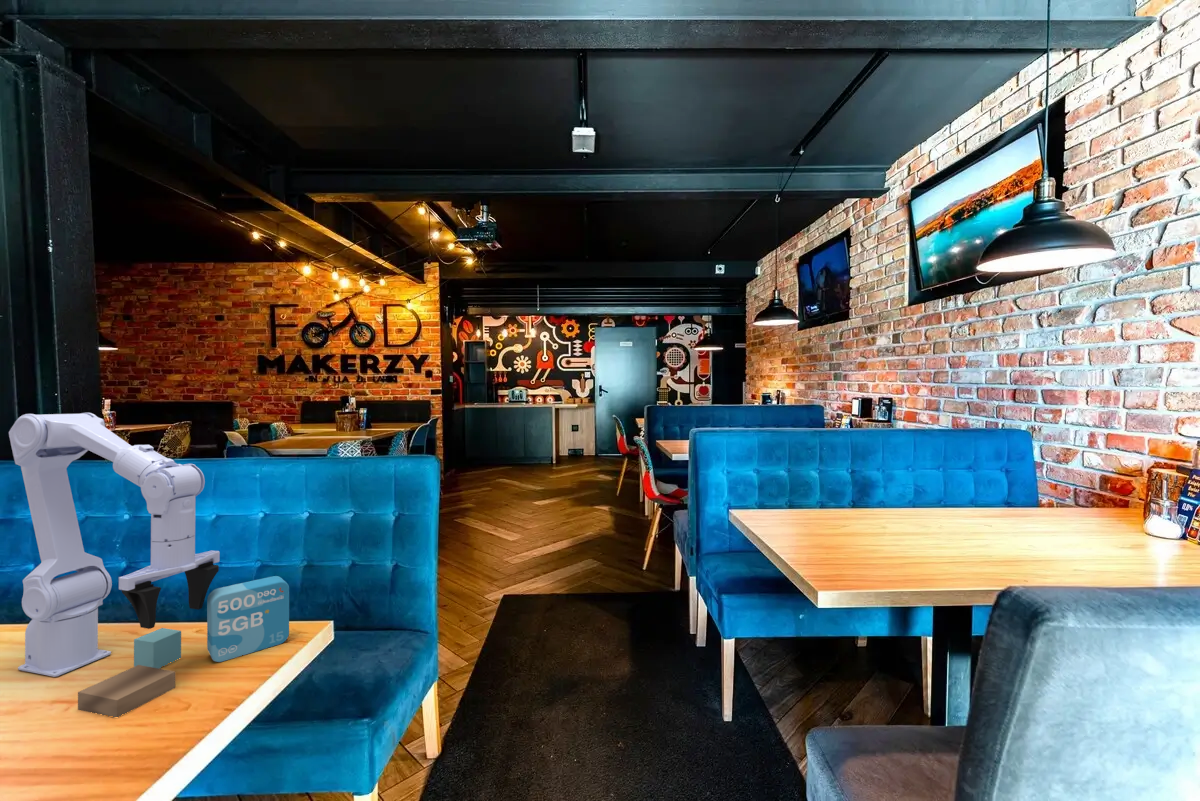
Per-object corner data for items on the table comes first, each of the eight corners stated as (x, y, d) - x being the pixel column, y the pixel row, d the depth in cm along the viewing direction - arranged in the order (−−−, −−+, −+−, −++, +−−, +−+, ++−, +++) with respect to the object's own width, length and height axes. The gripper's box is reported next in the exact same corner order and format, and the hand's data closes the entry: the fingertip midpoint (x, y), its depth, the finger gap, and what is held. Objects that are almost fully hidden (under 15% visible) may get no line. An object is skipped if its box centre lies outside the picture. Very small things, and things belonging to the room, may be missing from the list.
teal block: (133, 668, 87) (133, 639, 87) (162, 655, 91) (162, 627, 91) (153, 671, 86) (153, 642, 86) (181, 658, 90) (181, 630, 90)
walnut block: (77, 712, 75) (77, 692, 75) (138, 683, 83) (138, 664, 83) (116, 720, 73) (117, 700, 73) (175, 690, 81) (175, 671, 81)
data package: (211, 665, 88) (211, 597, 88) (207, 656, 91) (207, 590, 91) (289, 641, 96) (289, 579, 96) (283, 634, 99) (283, 573, 99)
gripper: (142, 552, 77) (141, 640, 77) (232, 528, 91) (232, 603, 91) (109, 548, 79) (108, 634, 79) (203, 525, 93) (202, 598, 93)
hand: (172, 617), depth 85 cm, fingers open, 7 cm apart
